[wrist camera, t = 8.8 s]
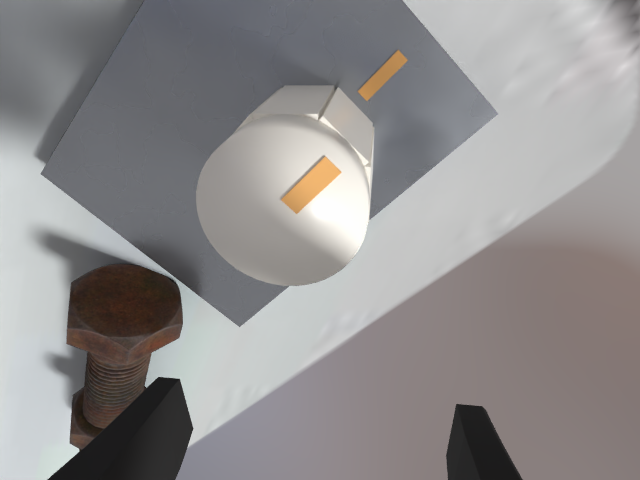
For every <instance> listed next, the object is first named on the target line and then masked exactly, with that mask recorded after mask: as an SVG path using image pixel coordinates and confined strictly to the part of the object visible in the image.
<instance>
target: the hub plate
mask: <svg viewBox="0 0 640 480" xmlns="http://www.w3.org/2000/svg"><path fill="white" fill-rule="evenodd" d="M285 85H334V91H335V90H336V89H337V88H338V87H339V88H340V89H341V90H342V91H343V92H344V93H345V95H346V96H347V97H348V98H349V99H350V100H351V101H352V102H353V103H354V104H355V105H356V106H357V107H358V108H359V109H360V110H361V111H362V112H363V113H364V114H365V115H366V116H367V117H368V119H369V120H370V121H371V122H372V123H373V127H374V150H373V175H372V188H371V201H370V214H369V220H370V219H371V218H372V217H374V216H375V215H376V214H377V213H379V212H380V211H381V210H382V209H383V208H385V207H386V206H387V205H388V204H389V203H391V202H392V201H393V200H394V199H395V198H397V197H398V196H399V195H400V194H402V193H403V192H404V191H405V190H406V189H408V188H409V187H410V186H411V185H412V184H414V183H415V182H416V181H417V180H419V179H420V178H421V177H422V176H423V175H425V174H426V173H427V172H428V171H429V170H431V169H432V168H433V167H434V166H436V165H437V164H438V163H439V162H440V161H442V160H443V159H444V158H445V157H446V156H448V155H449V154H450V153H451V152H453V151H454V150H455V149H456V148H457V147H459V146H460V145H461V144H462V143H463V142H465V141H466V140H467V139H468V138H470V137H471V136H472V135H473V134H474V133H476V132H477V131H478V130H479V129H480V128H482V127H483V126H484V125H485V124H486V123H488V122H489V121H490V120H491V119H493V118H494V117H495V116H496V115H497V114H498V113H497V112H496V111H495V109H494V108H493V107H492V106H491V105H490V103H489V102H488V101H487V100H486V99H485V98H484V96H483V95H482V94H481V93H480V92H479V90H478V89H477V88H476V87H475V86H474V85H473V83H472V82H471V81H470V80H469V79H468V77H467V76H466V75H465V74H464V73H463V72H462V70H461V69H460V68H459V67H458V66H457V64H456V63H455V62H454V61H453V60H452V59H451V57H450V56H449V55H448V54H447V53H446V51H445V50H444V49H443V48H442V47H441V46H440V44H439V43H438V42H437V41H436V40H435V38H434V37H433V36H432V35H431V34H430V33H429V31H428V30H427V29H426V28H425V27H424V25H423V24H422V23H421V22H420V21H419V20H418V18H417V17H416V16H415V15H414V14H413V12H412V11H411V10H410V9H409V8H408V7H407V5H406V4H405V3H404V2H403V1H402V0H144V2H143V3H142V5H141V7H140V8H139V10H138V12H137V13H136V15H135V17H134V18H133V20H132V22H131V23H130V25H129V27H128V28H127V30H126V32H125V33H124V35H123V37H122V38H121V40H120V42H119V43H118V45H117V47H116V48H115V50H114V52H113V53H112V55H111V57H110V58H109V60H108V62H107V63H106V65H105V67H104V68H103V70H102V72H101V74H100V75H99V77H98V79H97V80H96V82H95V84H94V85H93V87H92V89H91V90H90V92H89V94H88V95H87V97H86V99H85V100H84V102H83V104H82V105H81V107H80V109H79V110H78V112H77V114H76V115H75V117H74V119H73V120H72V122H71V124H70V125H69V127H68V129H67V130H66V132H65V134H64V135H63V137H62V139H61V140H60V142H59V144H58V145H57V147H56V149H55V150H54V152H53V154H52V156H51V157H50V159H49V161H48V162H47V164H46V166H45V167H44V169H43V171H42V172H41V175H43V176H44V177H45V178H47V179H48V180H49V181H51V182H52V183H53V184H54V185H56V186H57V187H58V188H60V189H61V190H62V191H64V192H65V193H66V194H67V195H69V196H70V197H71V198H73V199H74V200H75V201H77V202H78V203H79V204H80V205H82V206H83V207H84V208H86V209H87V210H88V211H90V212H91V213H92V214H93V215H95V216H96V217H97V218H99V219H100V220H101V221H103V222H104V223H105V224H106V225H108V226H109V227H110V228H112V229H113V230H114V231H116V232H117V233H118V234H119V235H121V236H122V237H123V238H125V239H126V240H127V241H129V242H130V243H131V244H132V245H134V246H135V247H136V248H138V249H139V250H140V251H142V252H143V253H144V254H145V255H147V256H148V257H149V258H151V259H152V260H153V261H155V262H156V263H157V264H158V265H160V266H161V267H162V268H164V269H165V270H166V271H168V272H169V273H170V274H171V275H173V276H174V277H175V278H177V279H178V280H179V281H181V282H182V283H183V284H184V285H186V286H187V287H188V288H190V289H191V290H192V291H194V292H195V293H196V294H197V295H199V296H200V297H201V298H203V299H204V300H205V301H207V302H208V303H209V304H210V305H212V306H213V307H214V308H216V309H217V310H218V311H220V312H221V313H222V314H223V315H225V316H226V317H227V318H229V319H230V320H231V321H233V322H234V323H235V324H236V325H238V326H239V327H240V326H241V325H243V324H244V323H245V322H246V321H247V320H249V319H250V318H251V317H252V316H254V315H255V314H256V313H257V312H258V311H260V310H261V309H262V308H263V307H264V306H266V305H267V304H268V303H269V302H271V301H272V300H273V299H274V298H275V297H277V296H278V295H279V294H280V293H281V292H283V291H284V290H285V289H286V288H288V287H289V286H284V285H275V284H271V283H266V282H263V281H260V280H257V279H255V278H252V277H250V276H248V275H246V274H244V273H243V272H241V271H239V270H237V269H236V268H235V267H233V266H232V265H231V264H229V263H228V262H227V261H226V260H225V259H224V258H223V257H221V255H220V254H219V253H218V252H217V251H216V250H215V249H214V247H213V246H212V244H211V243H210V242H209V240H208V238H207V237H206V235H205V233H204V231H203V229H202V226H201V223H200V221H199V217H198V213H197V206H196V190H197V184H198V179H199V176H200V173H201V171H202V169H203V167H204V165H205V163H206V161H207V160H208V159H209V157H210V156H211V154H212V153H213V152H214V151H215V150H216V149H217V148H218V147H219V146H220V145H221V144H223V143H224V142H225V141H226V140H227V139H228V138H229V137H230V136H231V135H232V134H233V133H234V132H235V131H236V130H237V129H238V127H239V126H240V125H241V124H242V123H243V121H244V120H245V119H246V118H247V117H248V116H249V115H250V114H251V113H252V112H253V111H254V110H256V109H257V108H258V107H259V106H260V105H261V104H262V103H264V102H265V101H266V100H267V99H268V98H269V97H271V96H272V95H273V94H274V93H275V92H276V91H277V90H279V89H280V88H281V87H282V88H283V87H284V86H285Z"/></svg>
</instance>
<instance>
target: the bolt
mask: <svg viewBox="0 0 640 480" xmlns="http://www.w3.org/2000/svg"><path fill="white" fill-rule="evenodd" d="M182 325H183V314H182V304H181V296H180V291H179V287H178V285H177V284H175V283H174V282H173V281H171V280H170V279H169V278H167V277H166V276H164V275H162V274H159V273H156V272H154V271H151V270H149V269H147V268H144V267H141V266H137V265H128V264H114V265H107V266H104V267H100V268H97V269H95V270H93V271H91V272H88V273H86V274H84V275H83V276H81V277H80V278H78V279H76V280H75V281H73V282H72V283H71V289H70V300H69V311H68V325H67V344H69V345H71V346H74V347H77V348H80V349H82V350H85V351H88V353H87V364H86V372H85V386H84V387H83V388H82V389H81V390H79V391H78V392H77V393H75V394H74V395H73V400H72V414H71V429H70V444H72V445H74V446H75V447H77V448H79V450H80V451H81V450H82V449H83V448H84V447H85V446H86V445H87V444H88V443H90V442H91V441H92V440H93V439H94V438H95V437H96V436H97V435H98V434H99V433H100V432H101V431H102V430H104V429H105V428H106V427H107V426H108V425H109V424H110V423H111V422H112V421H113V420H114V419H115V418H116V417H117V416H118V415H119V414H120V413H121V412H122V411H124V410H125V409H126V408H127V407H128V406H129V405H130V404H131V403H132V402H133V401H134V400H135V399H136V398H137V397H138V396H139V395H140V394H141V393H142V392H143V391H144V390H145V389H146V387H144V385H145V381H146V375H147V371H148V366H149V362H150V357H151V353H152V352H154V351H156V350H157V349H159V348H161V347H163V346H165V345H167V344H169V343H171V342H172V341H174V340H176V339H178V338H179V337H180V333H181V329H182Z"/></svg>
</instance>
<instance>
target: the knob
mask: <svg viewBox="0 0 640 480" xmlns="http://www.w3.org/2000/svg"><path fill="white" fill-rule="evenodd" d="M373 150H374V127H373V123H372V122H371V121H370V120H369V119H368V117H367V116H366V115H365V114H364V113H363V112H362V111H361V110H360V109H359V108H358V107H357V106H356V105H355V104H354V103H353V102H352V101H351V100H350V99H349V98H348V97H347V96H346V95H345V93H344V92H343V91H342V90H341V89H340V88H339V87H338V88H337V89H336V90H335V91H334V85H285V86H284V87H283V88H282V87H281V88H280V89H279V90H277V91H276V92H275V93H274V94H273V95H272V96H271V97H269V98H268V99H267V100H266V101H265V102H264V103H262V104H261V105H260V106H259V107H258V108H257V109H256V110H254V111H253V112H252V113H251V114H250V115H249V116H248V117H247V118H246V119H245V120H244V121H243V123H242V124H241V125H240V126H239V127H238V129H237V130H236V131H235V132H234V133H233V134H232V135H231V136H230V137H229V138H228V139H227V140H226V141H225V142H224V143H223V144H221V145H220V146H219V147H218V148H217V149H216V150H215V151H214V152H213V153H212V154H211V156H210V157H209V159H208V160H207V161H206V163H205V165H204V167H203V169H202V171H201V173H200V176H199V179H198V184H197V190H196V206H197V213H198V217H199V221H200V223H201V226H202V229H203V231H204V233H205V235H206V237H207V238H208V240H209V242H210V243H211V244H212V246H213V247H214V249H215V250H216V251H217V252H218V253H219V254H220V255H221V257H223V258H224V259H225V260H226V261H227V262H228V263H229V264H231V265H232V266H233V267H235V268H236V269H237V270H239V271H241V272H243V273H244V274H246V275H248V276H250V277H252V278H255V279H257V280H260V281H263V282H266V283H271V284H275V285H284V286H299V285H307V284H312V283H316V282H319V281H322V280H324V279H327V278H329V277H331V276H333V275H334V274H336V273H337V272H339V271H340V270H342V269H343V268H344V267H345V266H346V265H347V264H348V263H349V262H350V261H351V260H352V259H353V258H354V256H355V255H356V253H357V252H358V250H359V249H360V247H361V245H362V242H363V240H364V237H365V233H366V229H367V223H369V214H370V201H371V188H372V175H373Z"/></svg>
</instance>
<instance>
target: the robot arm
mask: <svg viewBox="0 0 640 480" xmlns="http://www.w3.org/2000/svg"><path fill="white" fill-rule="evenodd" d="M192 431H193V426H192V422H191V419H190V415H189V411H188V408H187V404H186V400H185V396H184V393H183V389H182V385H181V382H180V379H175V378H164V377H158V378H157V379H156V380H155V381H154V382H153V383H151V384H150V385H149V386H148V387H147V388H146V389H145V390H144V391H143V392H142V393H141V394H140V395H139V396H138V397H137V398H136V399H135V400H134V401H133V402H132V403H131V404H130V405H129V406H128V407H127V408H126V409H125V410H124V411H122V412H121V413H120V414H119V415H118V416H117V417H116V418H115V419H114V420H113V421H112V422H111V423H110V424H109V425H108V426H107V427H106V428H105V429H104V430H102V431H101V432H100V433H99V434H98V435H97V436H96V437H95V438H94V439H93V440H92V441H91V442H90V443H88V444H87V445H86V446H85V447H84V448H83V449H82V450H81V451H80V452H79V453H77V454H76V455H75V456H74V457H73V458H72V459H71V460H69V461H68V462H67V463H66V464H65V465H64V466H63V467H61V468H60V469H59V470H58V471H57V472H56V473H54V474H53V475H52V476H51V477H50V478H49V479H48V480H175V479H176V476H177V474H178V472H179V470H180V467H181V464H182V461H183V459H184V456H185V453H186V450H187V447H188V443H189V440H190V437H191V434H192ZM446 457H447V471H448V480H522V478H521V476H520V474H519V473H518V471H517V469H516V467H515V466H514V464H513V462H512V460H511V458H510V456H509V455H508V453H507V451H506V449H505V447H504V446H503V444H502V442H501V440H500V438H499V436H498V434H497V432H496V430H495V428H494V426H493V424H492V422H491V420H490V418H489V416H488V414H487V412H486V410H485V409H484V408H483V407H482V406H472V405H461V404H456V408H455V414H454V419H453V424H452V429H451V434H450V439H449V444H448V449H447V455H446Z"/></svg>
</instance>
